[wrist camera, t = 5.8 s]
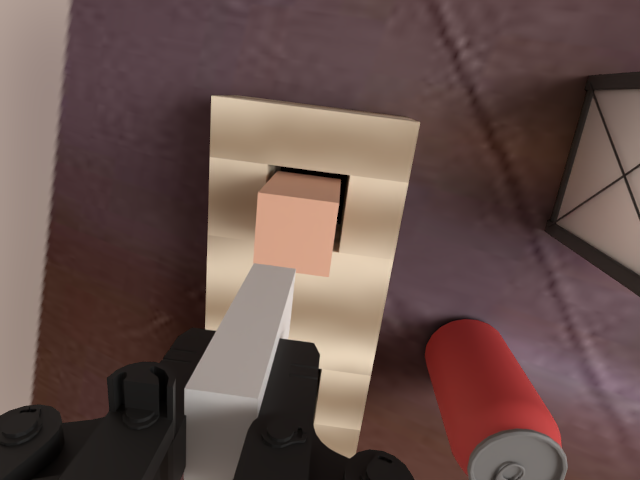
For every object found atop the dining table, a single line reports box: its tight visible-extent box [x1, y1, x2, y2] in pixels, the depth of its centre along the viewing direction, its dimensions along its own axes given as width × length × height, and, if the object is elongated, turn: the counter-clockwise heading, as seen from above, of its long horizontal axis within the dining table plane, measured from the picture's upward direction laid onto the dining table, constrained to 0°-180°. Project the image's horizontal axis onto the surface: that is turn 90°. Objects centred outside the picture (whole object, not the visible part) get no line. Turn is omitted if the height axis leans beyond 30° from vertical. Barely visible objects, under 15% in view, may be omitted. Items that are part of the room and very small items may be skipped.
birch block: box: [205, 95, 420, 458], centre depth 31 cm, size 26×12×6 cm, turn 173°
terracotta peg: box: [253, 171, 341, 277], centre depth 23 cm, size 4×4×6 cm
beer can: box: [425, 319, 568, 480], centre depth 29 cm, size 7×7×12 cm
